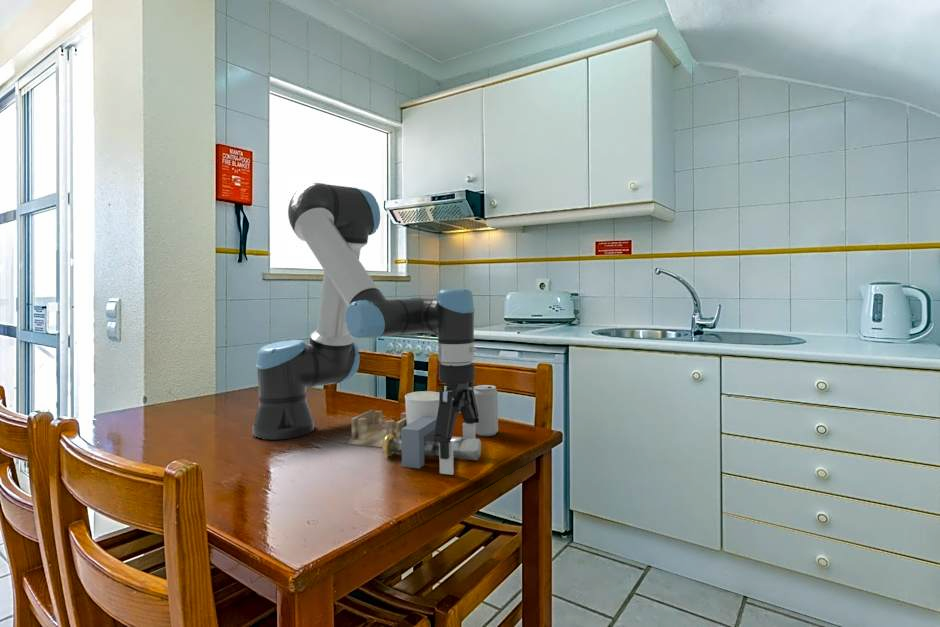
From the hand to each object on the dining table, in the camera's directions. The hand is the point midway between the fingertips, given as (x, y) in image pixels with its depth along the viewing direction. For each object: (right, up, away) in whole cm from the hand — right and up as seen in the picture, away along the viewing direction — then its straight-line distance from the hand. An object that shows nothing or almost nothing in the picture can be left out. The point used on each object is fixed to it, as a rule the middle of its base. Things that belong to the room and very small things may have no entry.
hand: (458, 462), depth 110 cm
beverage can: (+6, +1, +22) cm, 23 cm away
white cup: (-8, 0, +14) cm, 17 cm away
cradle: (-18, +1, +17) cm, 25 cm away
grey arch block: (-8, 0, +3) cm, 9 cm away
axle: (0, +2, +4) cm, 4 cm away
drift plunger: (-11, 0, +4) cm, 11 cm away
